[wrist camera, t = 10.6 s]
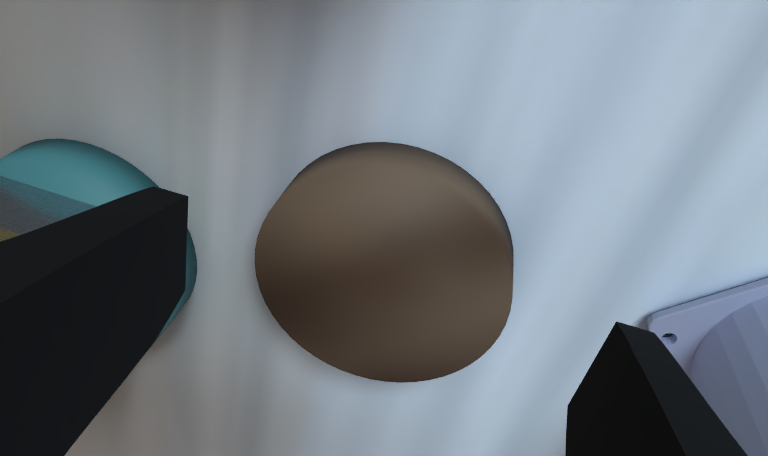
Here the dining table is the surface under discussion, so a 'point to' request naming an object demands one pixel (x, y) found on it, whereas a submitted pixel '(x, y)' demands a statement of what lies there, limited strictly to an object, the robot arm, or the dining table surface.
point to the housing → (32, 208)
